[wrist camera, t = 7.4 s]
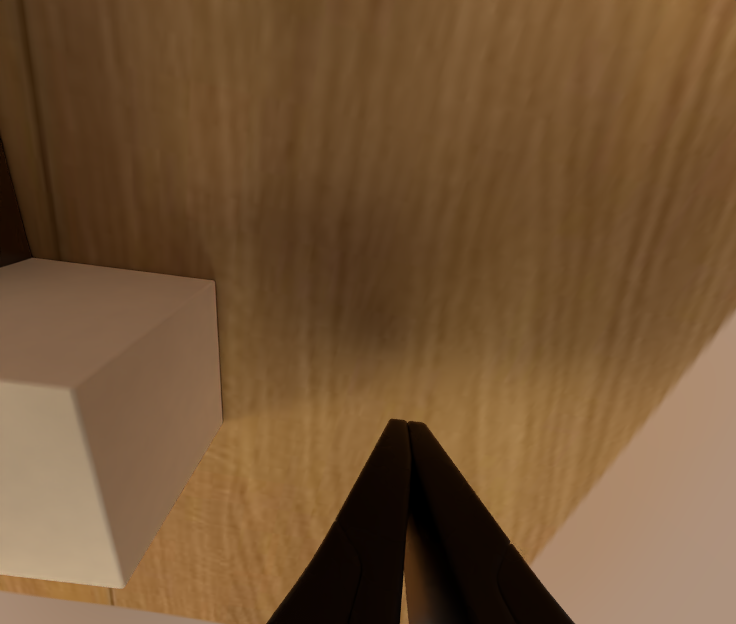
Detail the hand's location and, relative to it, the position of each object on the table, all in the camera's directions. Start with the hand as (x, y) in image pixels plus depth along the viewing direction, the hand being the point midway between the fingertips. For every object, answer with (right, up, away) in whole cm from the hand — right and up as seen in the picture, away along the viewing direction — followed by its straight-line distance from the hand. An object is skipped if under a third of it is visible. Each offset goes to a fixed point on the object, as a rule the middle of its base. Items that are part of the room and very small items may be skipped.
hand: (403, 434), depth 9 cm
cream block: (-8, +2, +2) cm, 8 cm away
